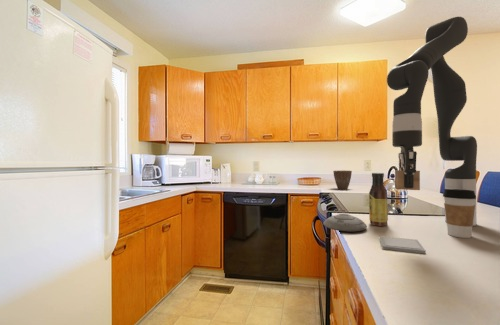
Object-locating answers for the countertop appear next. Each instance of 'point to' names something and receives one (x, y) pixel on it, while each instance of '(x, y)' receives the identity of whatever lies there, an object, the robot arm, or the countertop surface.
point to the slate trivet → (401, 244)
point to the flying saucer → (345, 223)
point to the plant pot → (342, 179)
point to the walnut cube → (400, 180)
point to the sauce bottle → (378, 201)
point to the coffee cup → (459, 211)
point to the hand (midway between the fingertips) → (406, 187)
